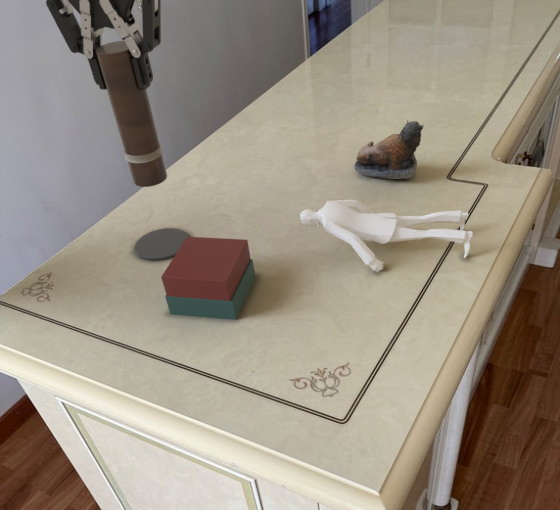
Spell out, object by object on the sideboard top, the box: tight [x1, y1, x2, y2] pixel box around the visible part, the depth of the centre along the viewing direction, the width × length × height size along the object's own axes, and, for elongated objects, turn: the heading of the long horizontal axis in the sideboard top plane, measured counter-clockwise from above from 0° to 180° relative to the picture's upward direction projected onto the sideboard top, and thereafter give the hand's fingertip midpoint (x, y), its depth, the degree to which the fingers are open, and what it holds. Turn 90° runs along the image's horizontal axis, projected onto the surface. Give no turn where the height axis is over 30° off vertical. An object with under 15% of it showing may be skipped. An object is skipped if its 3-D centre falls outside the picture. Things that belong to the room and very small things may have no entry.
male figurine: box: [299, 199, 473, 273], centre depth 88 cm, size 14×6×25 cm
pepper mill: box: [96, 40, 168, 188], centre depth 77 cm, size 15×5×15 cm
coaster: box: [134, 227, 189, 262], centre depth 97 cm, size 9×9×1 cm
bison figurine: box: [353, 120, 425, 180], centre depth 103 cm, size 12×7×10 cm, turn 63°
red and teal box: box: [160, 236, 256, 321], centre depth 84 cm, size 10×10×7 cm
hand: (126, 86), depth 74 cm, fingers closed on pepper mill, 5 cm apart
